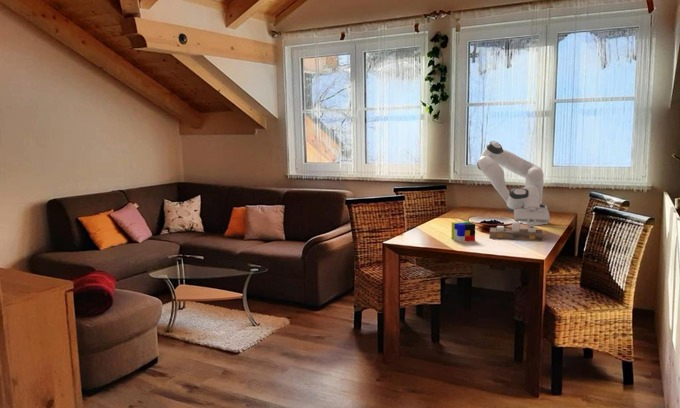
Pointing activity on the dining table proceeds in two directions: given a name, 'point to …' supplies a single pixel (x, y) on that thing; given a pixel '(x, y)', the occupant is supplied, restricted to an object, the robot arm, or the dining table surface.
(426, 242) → the dining table surface
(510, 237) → the console
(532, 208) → the robot arm
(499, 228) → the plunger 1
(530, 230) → the plunger
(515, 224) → the plunger middle
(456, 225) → the puzzle toy
